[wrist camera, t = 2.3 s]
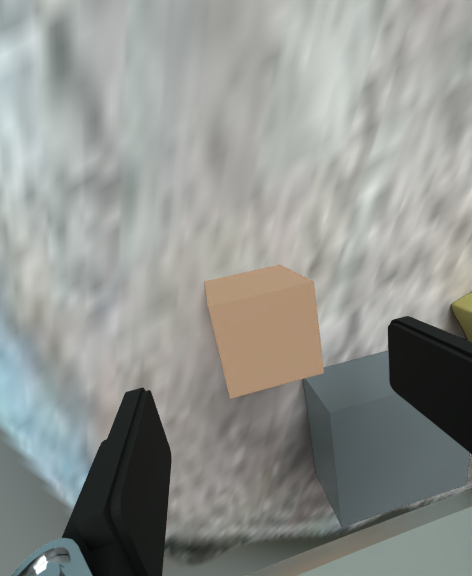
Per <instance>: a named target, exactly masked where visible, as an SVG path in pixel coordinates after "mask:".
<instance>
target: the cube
mask: <svg viewBox="0 0 472 576" xmlns="http://www.w3.org/2000/svg"><path fill="white" fill-rule="evenodd" d="M205 289H206V296H207V303H208V309H209V313H210V317H211V321H212V325H213V330H214V334H215V338H216V342H217V346H218V350H219V355H220V359H221V363H222V367H223V371H224V375H225V380H226V384H227V388H228V392H229V396H230V399H232V398H235V397H239V396H242V395H246V394H250V393H253V392H257V391H261V390H264V389H268V388H272V387H275V386H279V385H282V384H286V383H290V382H293V381H297V380H301V379H304V378H308V377H312V376H315V375H319V374H323V373H324V369H323V360H322V351H321V342H320V333H319V324H318V315H317V306H316V297H315V288H314V281H312V280H310V279H308V278H306V277H304V276H302V275H300V274H298V273H296V272H294V271H292V270H290V269H288V268H285V267H283V266H281V265H276V266H272V267H267V268H263V269H258V270H254V271H250V272H245V273H241V274H236V275H232V276H228V277H223V278H219V279H214V280H210V281H205Z"/></svg>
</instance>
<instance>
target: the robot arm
mask: <svg viewBox="0 0 472 576" xmlns="http://www.w3.org/2000/svg"><path fill="white" fill-rule="evenodd" d="M388 350H389V382H390V386H391V388H392V389H393V391H394V392H396V393H397V394H398V395H399V396H400V397H402V398H403V399H404V400H405V401H407V402H408V403H409V404H410V405H412V406H413V407H414V408H415V409H416V410H418V411H419V412H420V413H421V414H423V415H424V416H425V417H426V418H428V419H429V420H430V421H431V422H433V423H434V424H435V425H436V426H437V427H439V428H440V429H441V430H442V431H444V432H445V433H446V434H447V435H449V436H450V437H451V438H452V439H453V440H455V441H456V442H457V443H458V444H460V445H461V446H462V447H463V448H465V449H466V450H467V451H468V452H470V453H471V454H472V342H470V341H468V340H465V339H463V338H460V337H458V336H455V335H453V334H451V333H448V332H446V331H443V330H441V329H438V328H436V327H434V326H431V325H429V324H426V323H424V322H421V321H419V320H417V319H414V318H412V317H409V316H406V317H402V318H398V319H394V320H392V321H391V323H390V325H389V326H388ZM170 472H171V451H170V447H169V444H168V441H167V438H166V435H165V432H164V429H163V426H162V423H161V420H160V417H159V414H158V411H157V408H156V405H155V402H154V399H153V396H152V393H151V391H150V390H148V391H145V389H144V388H139V389H136V390H132V391H128V392H126V393H125V395H124V397H123V400H122V402H121V405H120V407H119V410H118V413H117V415H116V418H115V420H114V423H113V425H112V428H111V430H110V433H109V435H108V438H107V440H104V441H103V442H102V443H101V445H100V447H99V449H98V452H97V454H96V456H95V459H94V461H93V464H92V466H91V468H90V471H89V473H88V476H87V478H86V481H85V483H84V485H83V488H82V490H81V493H80V495H79V497H78V500H77V502H76V505H75V507H74V510H73V512H72V514H71V517H70V519H69V522H68V524H67V526H66V529H65V532H64V534H63V536H62V538H61V539H57V540H53V541H52V542H50V543H48V544H46V545H44V546H42V547H41V548H39V549H38V550H37V551H36V552H34V553H33V554H32V555H30V557H28V558H27V559H26V560H25V561H24V562H23V563H22V564H21V565H20V566H19V567H18V568H17V569H16V570H15V572H14V573H13V574H12V576H162V568H163V557H164V545H165V533H166V520H167V508H168V496H169V484H170ZM244 576H472V489H469V490H467V491H464V492H461V493H459V494H456V495H453V496H451V497H448V498H445V499H443V500H440V501H437V502H435V503H432V504H429V505H427V506H424V507H421V508H419V509H416V510H413V511H411V512H408V513H405V514H403V515H400V516H398V517H395V518H392V519H390V520H387V521H384V522H382V523H379V524H376V525H374V526H371V527H368V528H366V529H363V530H360V531H358V532H355V533H353V534H350V535H348V536H345V537H342V538H340V539H337V540H334V541H332V542H329V543H327V544H324V545H321V546H319V547H316V548H314V549H311V550H308V551H306V552H303V553H301V554H298V555H295V556H293V557H290V558H288V559H285V560H282V561H280V562H277V563H275V564H272V565H270V566H267V567H264V568H262V569H259V570H256V571H254V572H251V573H249V574H246V575H244Z"/></svg>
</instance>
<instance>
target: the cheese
mask: <svg viewBox="0 0 472 576" xmlns="http://www.w3.org/2000/svg"><path fill="white" fill-rule="evenodd" d="M451 306H452V310H453V312H454V314H455V316H456V318H457V320H458V321H459V323H460V325H461V326H462V328H463V330H464V332H465V334H466V337H467V339H468V341H470V342H472V292H470V293H469V294H467V295H466V296H464V297H462V298H460V299H459V300H457V301H455V302H454V303H452V304H451Z"/></svg>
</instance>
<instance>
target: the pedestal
mask: <svg viewBox="0 0 472 576" xmlns="http://www.w3.org/2000/svg"><path fill="white" fill-rule="evenodd" d="M323 369H324V373H323V374H319V375H315V376H312V377H308V378H304V379H303V383H304V390H305V398H306V405H307V413H308V420H309V428H310V435H311V442H312V450H313V457H314V465H315V472H316V475H317V477H318V479H319V481H320V483H321V485H322V487H323V489H324V492H325V494H326V496H327V498H328V500H329V502H330V504H331V506H332V508H333V510H334V512H335V514H336V516H337V519H338V521H339V523H340V525H341V527H344V526H347V525H350V524H353V523H356V522H359V521H362V520H365V519H368V518H371V517H374V516H376V515H379V514H382V513H385V512H388V511H391V510H394V509H397V508H400V507H403V506H406V505H409V504H412V503H415V502H417V501H420V500H423V499H426V498H429V497H432V496H435V495H438V494H441V493H444V492H447V491H450V490H453V489H456V488H458V487H461V486H464V485H467V475H468V465H469V454H470V452H468V451H467V450H466V449H465V448H463V447H462V446H461V445H460V444H458V443H457V442H456V441H455V440H453V439H452V438H451V437H450V436H449V435H447V434H446V433H445V432H444V431H442V430H441V429H440V428H439V427H437V426H436V425H435V424H434V423H433V422H431V421H430V420H429V419H428V418H426V417H425V416H424V415H423V414H421V413H420V412H419V411H418V410H416V409H415V408H414V407H413V406H412V405H410V404H409V403H408V402H407V401H405V400H404V399H403V398H402V397H400V396H399V395H398V394H397V393H396V392H394V391H393V389H392V388H391V386H390V382H389V351H385V352H381V353H377V354H374V355H370V356H366V357H363V358H359V359H355V360H352V361H348V362H344V363H341V364H337V365H333V366H329V367H326V368H323Z"/></svg>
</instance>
